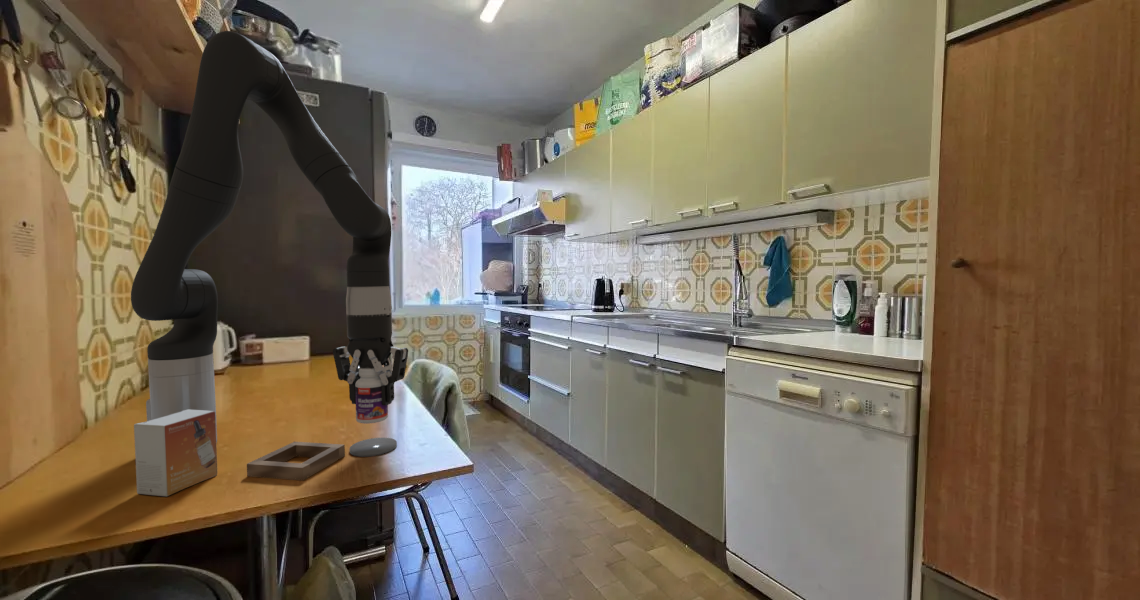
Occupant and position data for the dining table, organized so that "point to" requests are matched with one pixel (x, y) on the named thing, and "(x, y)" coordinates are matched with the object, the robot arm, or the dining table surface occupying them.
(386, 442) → the coaster
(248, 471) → the frame
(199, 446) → the small box
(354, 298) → the robot arm
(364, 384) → the pill bottle
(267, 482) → the dining table surface
